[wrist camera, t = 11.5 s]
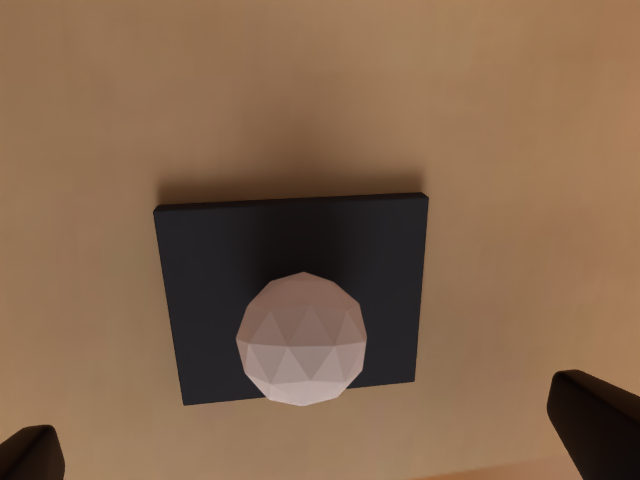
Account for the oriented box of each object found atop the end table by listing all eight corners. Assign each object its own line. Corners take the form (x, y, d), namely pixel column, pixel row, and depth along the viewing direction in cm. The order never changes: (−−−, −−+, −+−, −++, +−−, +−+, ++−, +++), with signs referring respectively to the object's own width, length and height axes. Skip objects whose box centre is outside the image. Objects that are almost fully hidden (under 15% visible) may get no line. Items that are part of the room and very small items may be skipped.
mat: (185, 394, 12) (182, 406, 12) (156, 204, 10) (151, 210, 10) (409, 371, 13) (415, 382, 13) (422, 191, 11) (429, 196, 11)
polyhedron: (239, 253, 10) (232, 316, 8) (359, 255, 11) (394, 316, 8) (237, 352, 11) (231, 441, 9) (348, 351, 12) (376, 434, 9)
